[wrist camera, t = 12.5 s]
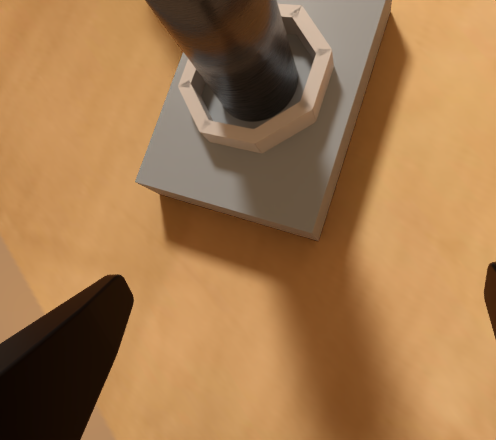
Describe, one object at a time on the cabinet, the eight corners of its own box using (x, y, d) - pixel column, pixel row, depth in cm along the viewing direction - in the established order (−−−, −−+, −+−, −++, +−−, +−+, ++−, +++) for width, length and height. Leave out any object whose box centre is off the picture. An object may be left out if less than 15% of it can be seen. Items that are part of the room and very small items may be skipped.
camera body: (318, 241, 23) (308, 228, 18) (159, 194, 27) (120, 174, 22) (390, 10, 24) (396, -50, 20) (229, -1, 28) (206, -53, 24)
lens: (305, 107, 21) (228, -144, 9) (226, 131, 23) (65, -62, 10) (289, 36, 23) (202, -268, 10) (214, 63, 24) (59, -181, 12)
